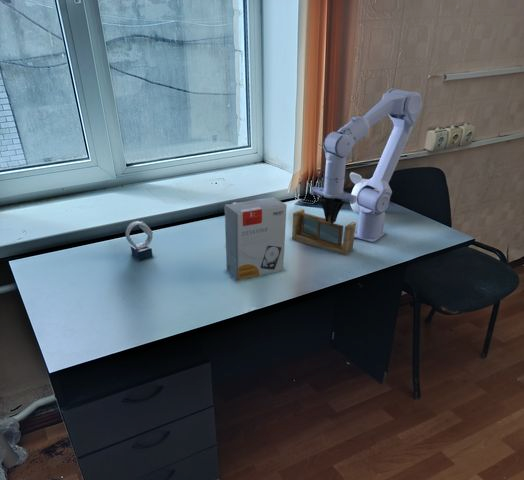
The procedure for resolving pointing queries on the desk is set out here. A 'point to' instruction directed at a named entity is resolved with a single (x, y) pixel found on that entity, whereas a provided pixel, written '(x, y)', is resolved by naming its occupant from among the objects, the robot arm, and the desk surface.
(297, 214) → the window frame
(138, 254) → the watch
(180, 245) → the desk surface
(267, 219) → the hard drive box
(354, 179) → the piggy bank
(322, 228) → the sash
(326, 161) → the robot arm
